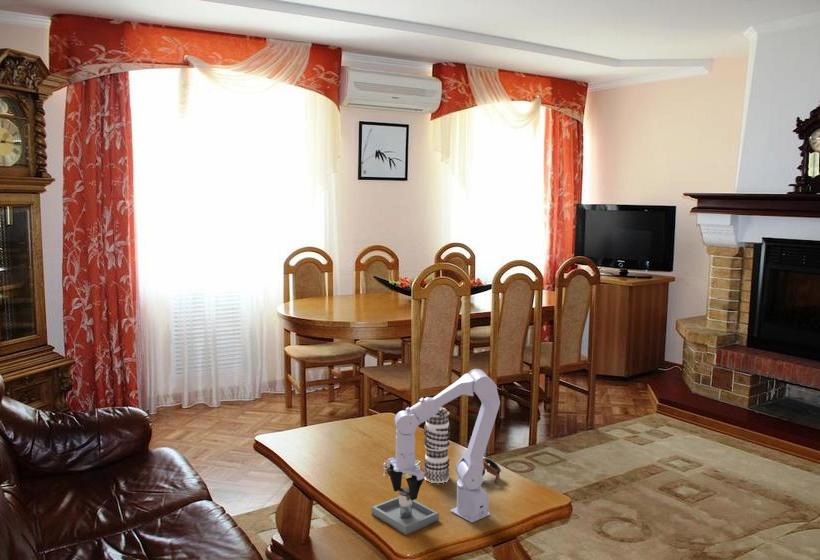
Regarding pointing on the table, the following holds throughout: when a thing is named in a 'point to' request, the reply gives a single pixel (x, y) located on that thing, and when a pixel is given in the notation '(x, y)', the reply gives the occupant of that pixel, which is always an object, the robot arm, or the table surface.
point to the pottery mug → (491, 468)
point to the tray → (419, 519)
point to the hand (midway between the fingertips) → (405, 494)
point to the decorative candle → (437, 447)
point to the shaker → (405, 503)
